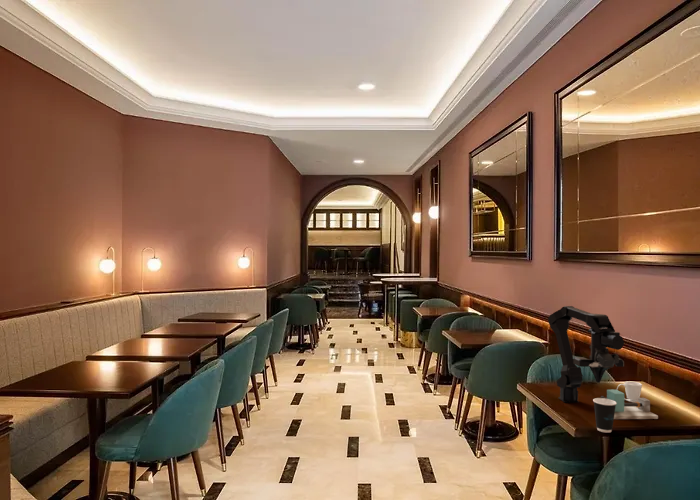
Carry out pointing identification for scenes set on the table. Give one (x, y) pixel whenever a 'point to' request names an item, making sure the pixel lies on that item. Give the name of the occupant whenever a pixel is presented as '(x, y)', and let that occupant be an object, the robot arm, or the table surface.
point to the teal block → (616, 399)
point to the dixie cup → (604, 414)
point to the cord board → (636, 410)
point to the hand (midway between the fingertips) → (598, 382)
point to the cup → (632, 390)
